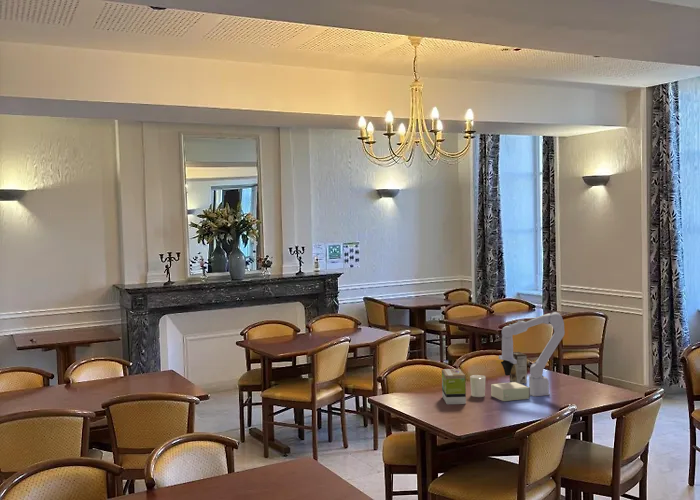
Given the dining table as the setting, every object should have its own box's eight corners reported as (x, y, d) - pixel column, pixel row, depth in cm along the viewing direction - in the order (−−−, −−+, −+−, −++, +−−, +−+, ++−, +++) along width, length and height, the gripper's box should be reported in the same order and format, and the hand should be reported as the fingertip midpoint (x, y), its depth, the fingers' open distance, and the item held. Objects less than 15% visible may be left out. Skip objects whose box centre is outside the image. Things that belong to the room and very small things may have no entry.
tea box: (441, 397, 350) (441, 368, 350) (461, 396, 350) (460, 368, 350) (446, 404, 335) (445, 374, 335) (466, 404, 335) (466, 374, 335)
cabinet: (514, 393, 355) (514, 382, 355) (527, 398, 344) (527, 386, 344) (491, 395, 351) (491, 384, 351) (503, 401, 340) (503, 389, 340)
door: (529, 398, 344) (529, 387, 344) (531, 398, 342) (531, 388, 342) (503, 400, 340) (503, 389, 340) (505, 401, 338) (505, 390, 338)
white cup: (485, 397, 347) (485, 378, 347) (470, 397, 349) (469, 377, 348) (485, 394, 355) (485, 375, 354) (470, 393, 356) (470, 374, 356)
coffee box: (509, 380, 385) (508, 352, 384) (519, 379, 386) (519, 351, 386) (516, 384, 376) (516, 355, 376) (527, 383, 378) (527, 354, 377)
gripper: (493, 347, 361) (493, 373, 362) (508, 352, 347) (508, 378, 348) (505, 346, 363) (505, 371, 364) (520, 351, 350) (520, 377, 350)
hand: (507, 375), depth 356 cm, fingers closed
